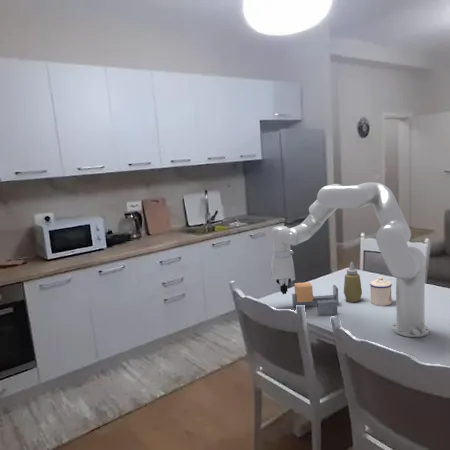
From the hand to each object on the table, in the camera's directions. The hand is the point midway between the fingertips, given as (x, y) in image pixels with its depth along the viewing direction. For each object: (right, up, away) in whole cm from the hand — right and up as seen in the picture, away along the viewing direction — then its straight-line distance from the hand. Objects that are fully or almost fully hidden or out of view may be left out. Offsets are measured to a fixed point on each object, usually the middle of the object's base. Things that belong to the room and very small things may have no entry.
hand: (284, 293), depth 187 cm
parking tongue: (+17, -7, -10) cm, 21 cm away
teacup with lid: (+43, -4, -1) cm, 43 cm away
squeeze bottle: (+32, -4, +3) cm, 33 cm away
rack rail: (+14, -5, +3) cm, 15 cm away
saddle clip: (+9, -3, 0) cm, 9 cm away
